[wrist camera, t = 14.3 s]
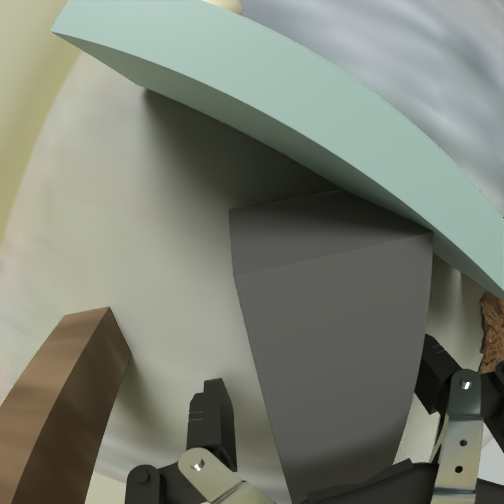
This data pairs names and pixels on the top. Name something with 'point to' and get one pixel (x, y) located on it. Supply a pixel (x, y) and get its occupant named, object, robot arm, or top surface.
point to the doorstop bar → (333, 329)
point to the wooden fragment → (492, 332)
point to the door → (295, 113)
